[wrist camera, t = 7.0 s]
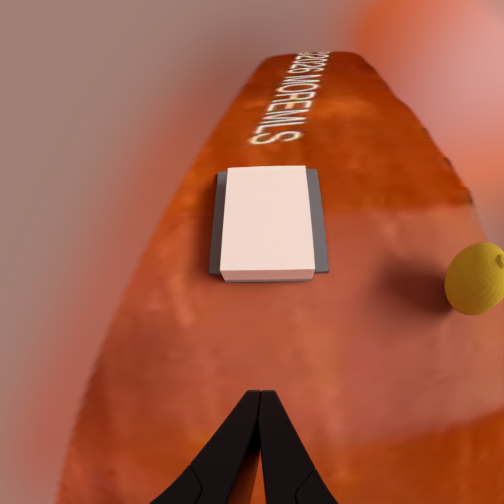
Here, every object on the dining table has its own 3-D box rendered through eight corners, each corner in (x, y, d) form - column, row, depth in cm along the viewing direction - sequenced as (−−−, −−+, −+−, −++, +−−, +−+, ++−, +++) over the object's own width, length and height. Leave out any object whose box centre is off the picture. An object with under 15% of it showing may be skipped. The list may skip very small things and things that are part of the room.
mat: (328, 272, 24) (329, 271, 24) (209, 274, 25) (208, 272, 25) (316, 171, 29) (316, 169, 29) (218, 174, 30) (218, 171, 29)
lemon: (464, 335, 20) (520, 310, 13) (421, 304, 22) (470, 268, 15) (481, 287, 22) (530, 251, 15) (441, 257, 24) (484, 212, 17)
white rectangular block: (315, 269, 21) (305, 165, 26) (219, 270, 22) (228, 168, 26) (311, 280, 24) (303, 182, 28) (225, 281, 24) (231, 184, 28)
